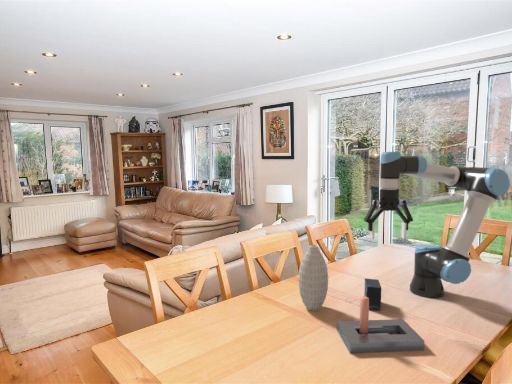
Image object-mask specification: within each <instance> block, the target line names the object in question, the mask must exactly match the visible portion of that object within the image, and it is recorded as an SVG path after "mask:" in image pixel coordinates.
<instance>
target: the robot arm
mask: <svg viewBox="0 0 512 384" xmlns="http://www.w3.org/2000/svg"><path fill="white" fill-rule="evenodd" d="M379 170H380V172H379V173H380V175H379V177H380V179H379V187H380V189H379V199H378V200H375V199H372V201H371V205H370V206H369V209H368V211H367V212H366V215H365V216H364V218H363V222H365V223H367V225H368V226H367V227H368V229H367V231H369V235H370V236H369V238H370V239H371V240H375V230H376V229H375V228H376V227H375V223H374V222H375V221H376V220H377V219H378V218H379V217H380V215H381V214H382V213H384V212H389V211H391V212H393V211H394V212H395V213H396V214H397V216H399V217H400V219H401V220H402V222H401V232H400V235H401V236H400V237H401V238H402V239H404V240H405V239H406V238H407V231H409V224H410V223H411V222H414V218H413V216H412V214H411V211H410V210H409V208H408V206H407V205H408V204H407V200H405V199H403V198H402V199H399V198H400V190H399V188H400V175H405V176H410V177H413V178H414V177H415V178H418V179H419V178H420V179H425V180H429V181H435V182H439V183H444V184H445V185H446V186H448V187H452V188H456V189H459V190H462V191H466V194H467V196H468V198H467V200H466V202H465V204H464V207H463V209H462V211H461V213H460V216H459V217H458V221H457V222H456V225H455V227H454V229H453V231H452V234H451V236H450V238H449V240H448V242H447V244H446V245H444V246H441V245H437V244H419V245H416V247H415V249H414V250H415V251H414V268H413V269H414V271H413V272H414V273H413V277H412V279H411V281H410V283H409V291H410V292H411V293H412V294H414V295H418V296H421V297H424V298H425V297H426V298H440V297H443V296H444V295H445V289H444V284H443V282H442V280H443V281H444V282H447V283H450V284H452V285H453V284H454V285H457V284H458V285H459V284H461V283H464V282H465V281H466V280H468V278H469V277H470V275H471V273H472V266H471V264H470V263H469V262H470V259H471V256H470V254H469V252H470V249H471V247H472V245H473V243H474V241H475V238H476V236H477V234H478V231H479V229H480V227H481V225H482V223H483V220H484V219H485V216H486V214H487V211H488V209H489V207H490V205H491V204H493V203H495V202H497V199H498V198H499V197H500V196H504V195H506V194H507V192H508V191H509V189H510V185H511V181H510V178H509V175H508V173H507V172H506V171H505V170H503V169H501V168H498V167H497V168H496V167H475V166H470V167H467V166H465V167H464V166H455V165H452V166H446V165H445V166H444V165H440V164H435V163H430V162H428V161H427V158H426V157H424V156H423V155H401V153H400V151H382V152H381V155H380V169H379ZM378 205H379V207H378V208H377V206H378ZM399 205H400V206H401V208H402V210H403V212H404V213H403V212H402V211H401V209H400V208H399V207H398V206H399ZM376 208H377V210H376ZM375 210H376V211H375Z"/></svg>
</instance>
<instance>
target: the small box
mask: <svg viewBox="0 0 512 384" xmlns="http://www.w3.org/2000/svg"><path fill="white" fill-rule="evenodd" d="M363 291H364V295H363V296H364V297H368V298H369V310H374V311H381V308H382V285H381V283H380V280H379V279H374V278H364V290H363Z"/></svg>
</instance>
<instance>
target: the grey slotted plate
mask: <svg viewBox="0 0 512 384" xmlns="http://www.w3.org/2000/svg"><path fill="white" fill-rule="evenodd" d="M336 331H337V333H338V334H339V337H340V338H341V341H342V342H343V344H344V345H345V347H346V349H347V351H348V353H349V354H362V353H363V354H364V353H365V354H367V353H388V352H391V353H392V352H413V351H414V352H415V351H416V352H417V351H424V350H425V340H424V339H423V338H422V336H421V335H419V334H418V332H416V331H415V329H413V328H412V327H411V326H410V325H409V323H408V322H407V321H405V320H404V319H403V318H397V319H396V318H395V319H368V334H359V331H360V320H340V321H339V320H337V321H336Z"/></svg>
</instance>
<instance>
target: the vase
mask: <svg viewBox="0 0 512 384" xmlns="http://www.w3.org/2000/svg"><path fill="white" fill-rule="evenodd" d="M298 288H299V295H300V297H301V301H302V303H303V305H304V306H305V308H306V309H307V310H309V311H311V312H312V311H315V312H317V311H319V310H320V309H321V308H322V306H323V305H324V303H325V301H326V299H327V298H326V297H327V294H328V290H329V272H328V265H327V262H326V260H325V258H324V256H323V254H322V252H321V251H320V249H319V246H318V244H310V245H309V246H308V250H307V251H306V252H305V254H304V256H303V258H302V259H301V263H300V265H299V270H298Z"/></svg>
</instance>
